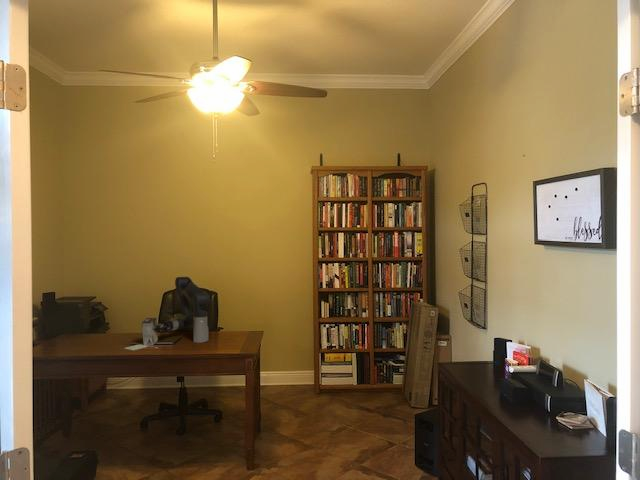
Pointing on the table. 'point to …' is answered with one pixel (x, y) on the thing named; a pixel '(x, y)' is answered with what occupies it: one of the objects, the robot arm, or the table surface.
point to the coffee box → (149, 331)
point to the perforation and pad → (136, 347)
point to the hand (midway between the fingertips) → (150, 329)
